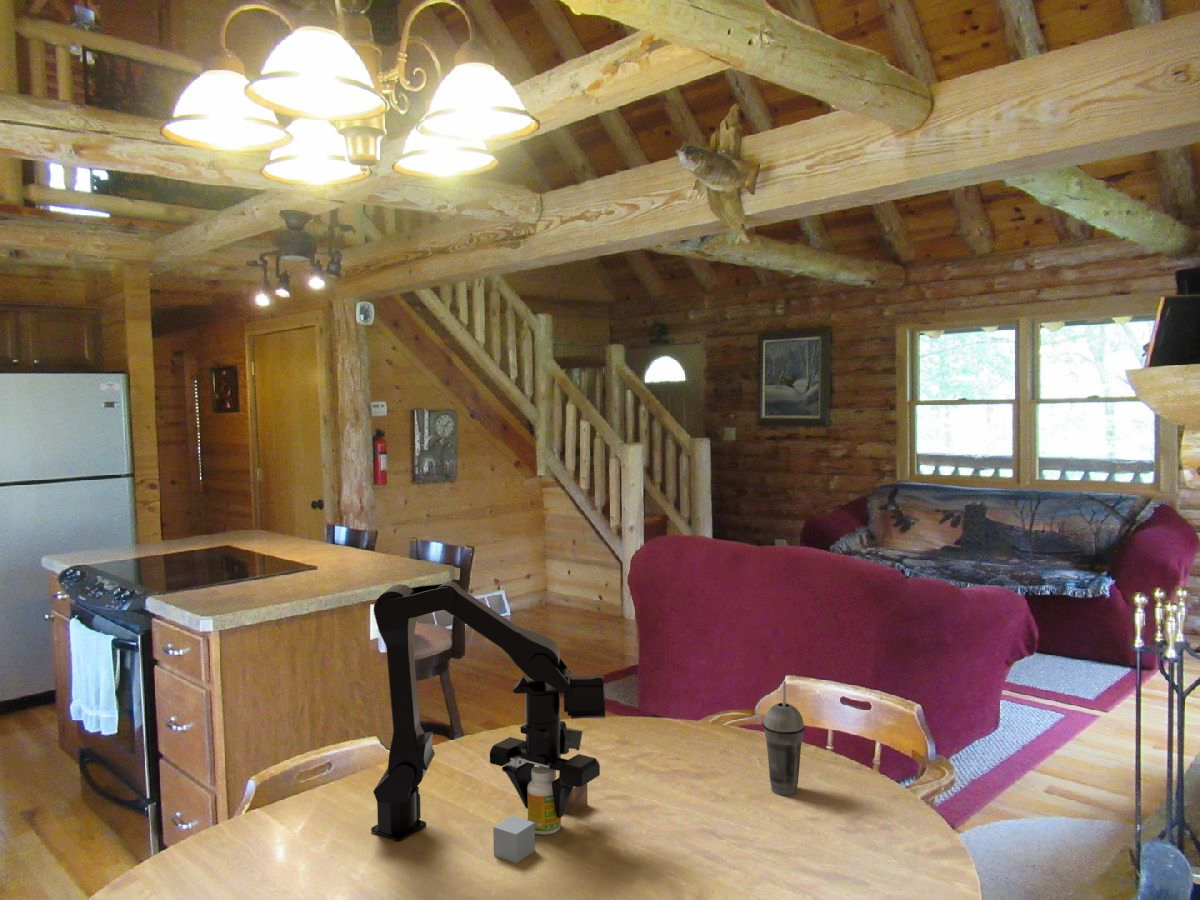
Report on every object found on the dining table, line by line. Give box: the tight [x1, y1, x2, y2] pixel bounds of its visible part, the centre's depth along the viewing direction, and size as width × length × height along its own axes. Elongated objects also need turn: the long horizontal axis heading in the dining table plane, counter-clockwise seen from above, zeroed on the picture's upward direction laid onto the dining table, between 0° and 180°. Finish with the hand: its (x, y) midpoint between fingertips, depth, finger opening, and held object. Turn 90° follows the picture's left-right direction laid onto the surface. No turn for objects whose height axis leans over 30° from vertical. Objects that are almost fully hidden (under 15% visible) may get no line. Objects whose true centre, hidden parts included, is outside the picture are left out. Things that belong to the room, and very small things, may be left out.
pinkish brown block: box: [564, 783, 589, 816], centre depth 147 cm, size 4×4×4 cm
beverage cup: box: [762, 680, 806, 797], centre depth 153 cm, size 7×7×20 cm
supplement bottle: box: [527, 765, 562, 836], centre depth 140 cm, size 5×5×10 cm
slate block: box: [492, 815, 536, 864], centre depth 132 cm, size 4×4×4 cm
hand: (544, 812), depth 140 cm, fingers open, 6 cm apart
